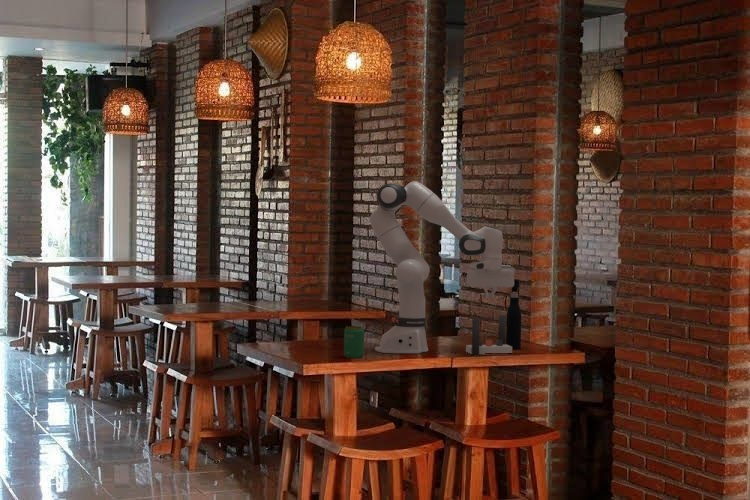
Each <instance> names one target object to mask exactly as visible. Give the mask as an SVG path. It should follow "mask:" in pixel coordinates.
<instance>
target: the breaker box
mask: <svg viewBox="0 0 750 500" xmlns="http://www.w3.org/2000/svg"><path fill="white" fill-rule="evenodd" d="M467 352H468V353H467ZM465 353H467V354H469V353H470V354H469V355H471V354H472V344H466V345H465ZM485 353H512V354H513V350H512V346H509V345H506V344H505V345H503V346H496V344H492V346H486V344H482V346H479V355H486V354H485Z"/></svg>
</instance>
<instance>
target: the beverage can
mask: <svg viewBox="0 0 750 500" xmlns="http://www.w3.org/2000/svg"><path fill="white" fill-rule="evenodd" d="M343 336H344V337H343V356H344V358H347V359H362V358H364V357H363V356H364V355H365V354H364V353H365V330H364V328H363V327H362V326H355V325H354V326H345V328H344V332H343Z"/></svg>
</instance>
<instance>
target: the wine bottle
mask: <svg viewBox="0 0 750 500" xmlns="http://www.w3.org/2000/svg"><path fill="white" fill-rule="evenodd" d="M518 288H520V279H515V278H514V286H513V287H511V293H510V297H509V306H508V308H507V312H506V336H505V345H509V346H512V349H519V350H521V347H522V341H521V339H522V310H521V308H520V304H519V303H520V301H519V300H520V299H519V293H518V291H519V290H518Z"/></svg>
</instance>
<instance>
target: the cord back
mask: <svg viewBox="0 0 750 500" xmlns="http://www.w3.org/2000/svg"><path fill="white" fill-rule="evenodd" d="M506 317H507V315H504V314H503V315H502V314H500V315H498V339H497V340H503V345H506Z"/></svg>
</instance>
